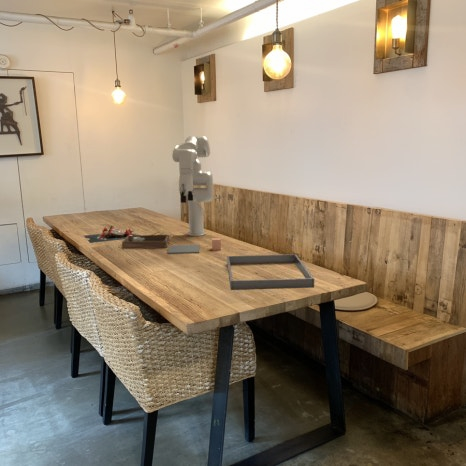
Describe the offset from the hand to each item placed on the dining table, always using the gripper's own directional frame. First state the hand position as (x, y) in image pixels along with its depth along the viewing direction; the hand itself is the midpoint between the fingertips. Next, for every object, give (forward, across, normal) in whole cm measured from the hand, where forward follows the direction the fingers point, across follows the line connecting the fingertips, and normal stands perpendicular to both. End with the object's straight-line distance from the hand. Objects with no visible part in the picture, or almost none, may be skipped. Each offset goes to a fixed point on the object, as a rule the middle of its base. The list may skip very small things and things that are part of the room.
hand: (187, 201), depth 267 cm
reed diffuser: (+28, -8, -31) cm, 43 cm away
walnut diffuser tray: (+28, -6, -31) cm, 42 cm away
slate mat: (+28, +1, -3) cm, 29 cm away
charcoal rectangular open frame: (+29, +37, +56) cm, 73 cm away
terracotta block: (+28, -6, +15) cm, 33 cm away
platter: (+29, -22, -65) cm, 75 cm away
